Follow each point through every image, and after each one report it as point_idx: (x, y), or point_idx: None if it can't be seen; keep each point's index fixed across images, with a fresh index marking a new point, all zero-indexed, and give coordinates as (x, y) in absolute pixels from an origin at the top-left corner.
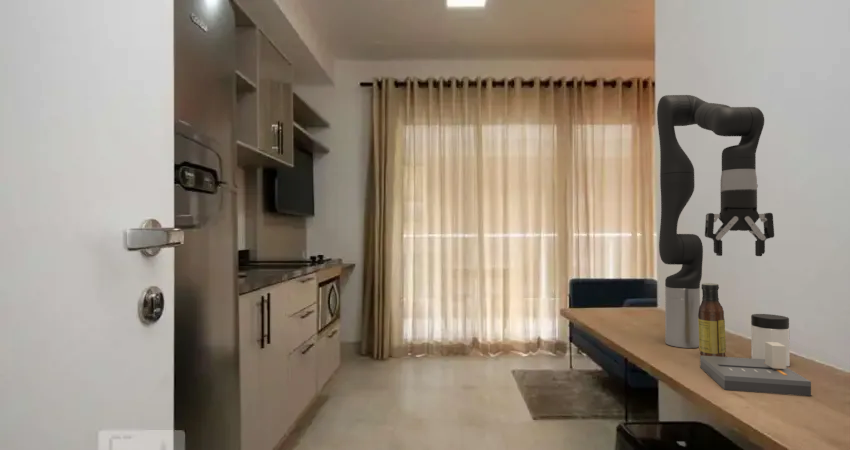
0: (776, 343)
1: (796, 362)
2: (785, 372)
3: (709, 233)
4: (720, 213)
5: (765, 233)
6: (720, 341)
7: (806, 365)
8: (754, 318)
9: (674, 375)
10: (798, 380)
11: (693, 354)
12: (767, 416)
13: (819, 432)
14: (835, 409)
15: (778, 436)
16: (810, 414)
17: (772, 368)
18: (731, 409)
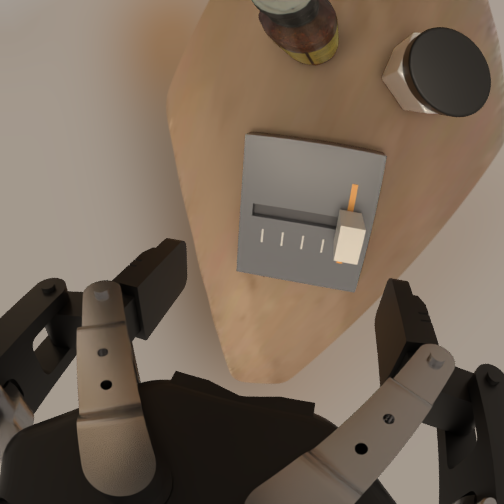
0: (355, 240)
1: None
2: None
3: (58, 349)
4: (10, 478)
5: (462, 409)
6: (317, 60)
7: None
8: (407, 70)
9: (190, 193)
10: (339, 288)
11: None
12: (251, 340)
13: (279, 370)
14: (345, 322)
15: (237, 374)
16: (303, 336)
17: None
18: (222, 324)
